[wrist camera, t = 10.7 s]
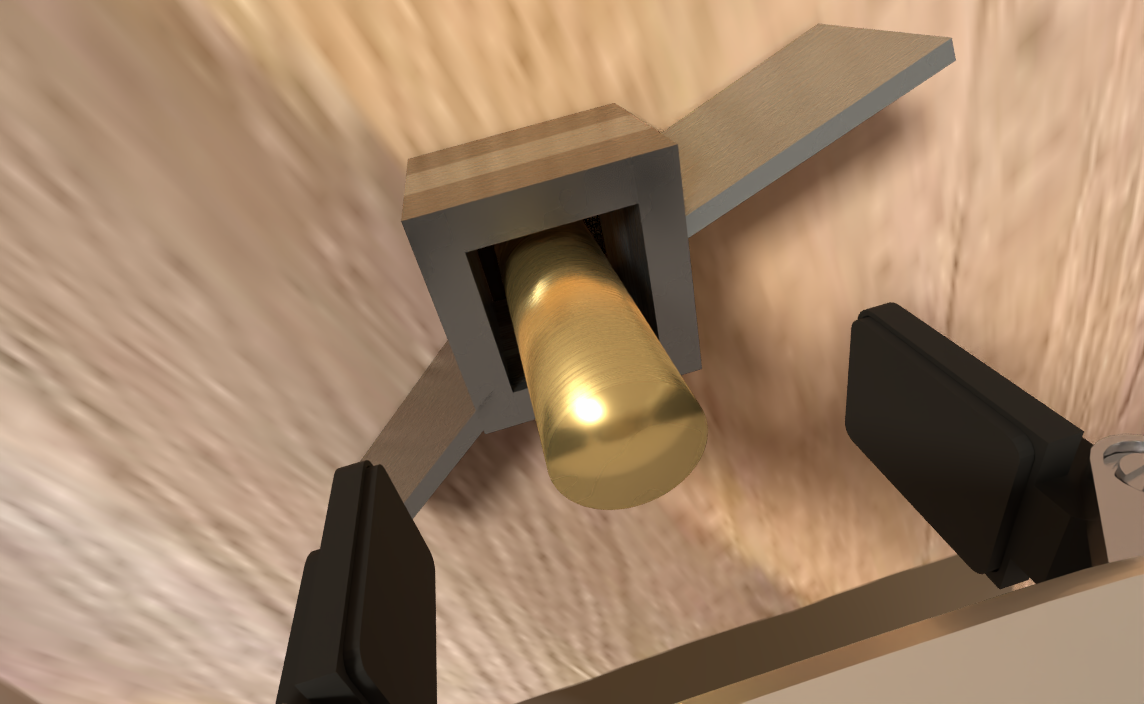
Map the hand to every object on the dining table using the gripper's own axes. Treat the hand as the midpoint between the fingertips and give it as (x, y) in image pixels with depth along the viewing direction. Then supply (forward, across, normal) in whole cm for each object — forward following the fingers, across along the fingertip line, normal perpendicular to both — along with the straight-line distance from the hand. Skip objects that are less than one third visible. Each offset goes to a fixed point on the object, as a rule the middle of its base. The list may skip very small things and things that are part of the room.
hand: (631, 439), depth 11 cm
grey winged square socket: (+12, 0, +2) cm, 12 cm away
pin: (+12, 0, 0) cm, 12 cm away
